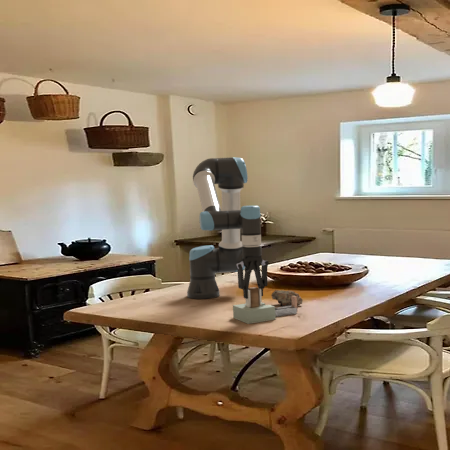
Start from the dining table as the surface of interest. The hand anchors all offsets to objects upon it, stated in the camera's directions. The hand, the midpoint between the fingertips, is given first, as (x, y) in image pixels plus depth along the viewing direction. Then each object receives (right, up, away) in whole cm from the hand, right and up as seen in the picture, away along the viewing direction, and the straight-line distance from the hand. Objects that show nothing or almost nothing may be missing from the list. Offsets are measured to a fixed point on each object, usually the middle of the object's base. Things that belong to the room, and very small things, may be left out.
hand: (253, 305), depth 238 cm
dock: (0, -5, 0) cm, 5 cm away
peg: (0, -5, 0) cm, 5 cm away
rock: (+15, -3, +23) cm, 28 cm away
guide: (+11, -4, +6) cm, 13 cm away
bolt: (+13, -4, +7) cm, 15 cm away
